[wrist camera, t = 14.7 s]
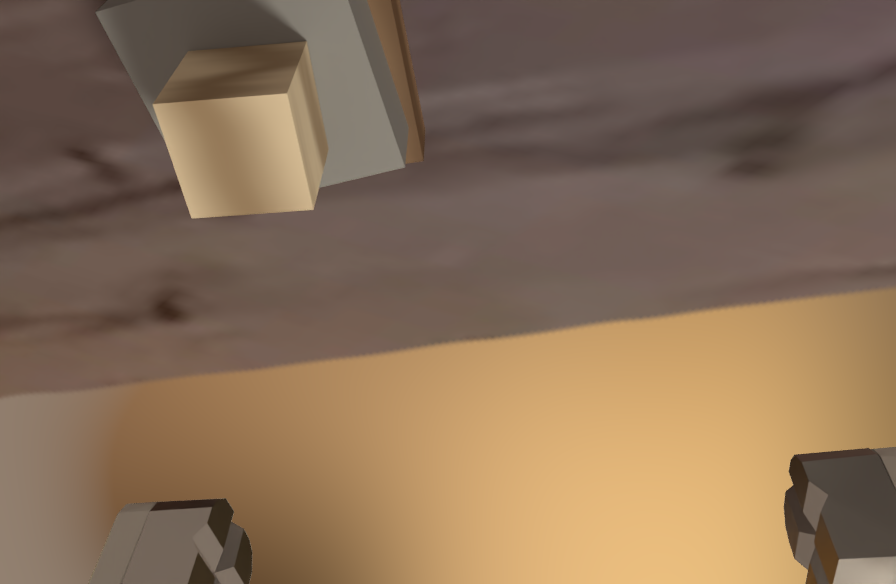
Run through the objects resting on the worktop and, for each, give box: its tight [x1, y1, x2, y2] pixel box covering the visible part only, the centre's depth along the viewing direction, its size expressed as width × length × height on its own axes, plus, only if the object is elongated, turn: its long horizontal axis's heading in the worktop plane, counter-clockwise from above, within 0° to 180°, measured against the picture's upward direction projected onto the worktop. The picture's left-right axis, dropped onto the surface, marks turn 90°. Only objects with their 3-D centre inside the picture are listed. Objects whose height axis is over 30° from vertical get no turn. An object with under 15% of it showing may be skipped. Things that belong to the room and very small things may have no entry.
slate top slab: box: [95, 0, 409, 188], centre depth 36 cm, size 10×10×4 cm
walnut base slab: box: [367, 0, 425, 164], centre depth 39 cm, size 12×12×4 cm
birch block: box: [153, 41, 329, 218], centre depth 33 cm, size 5×5×5 cm
